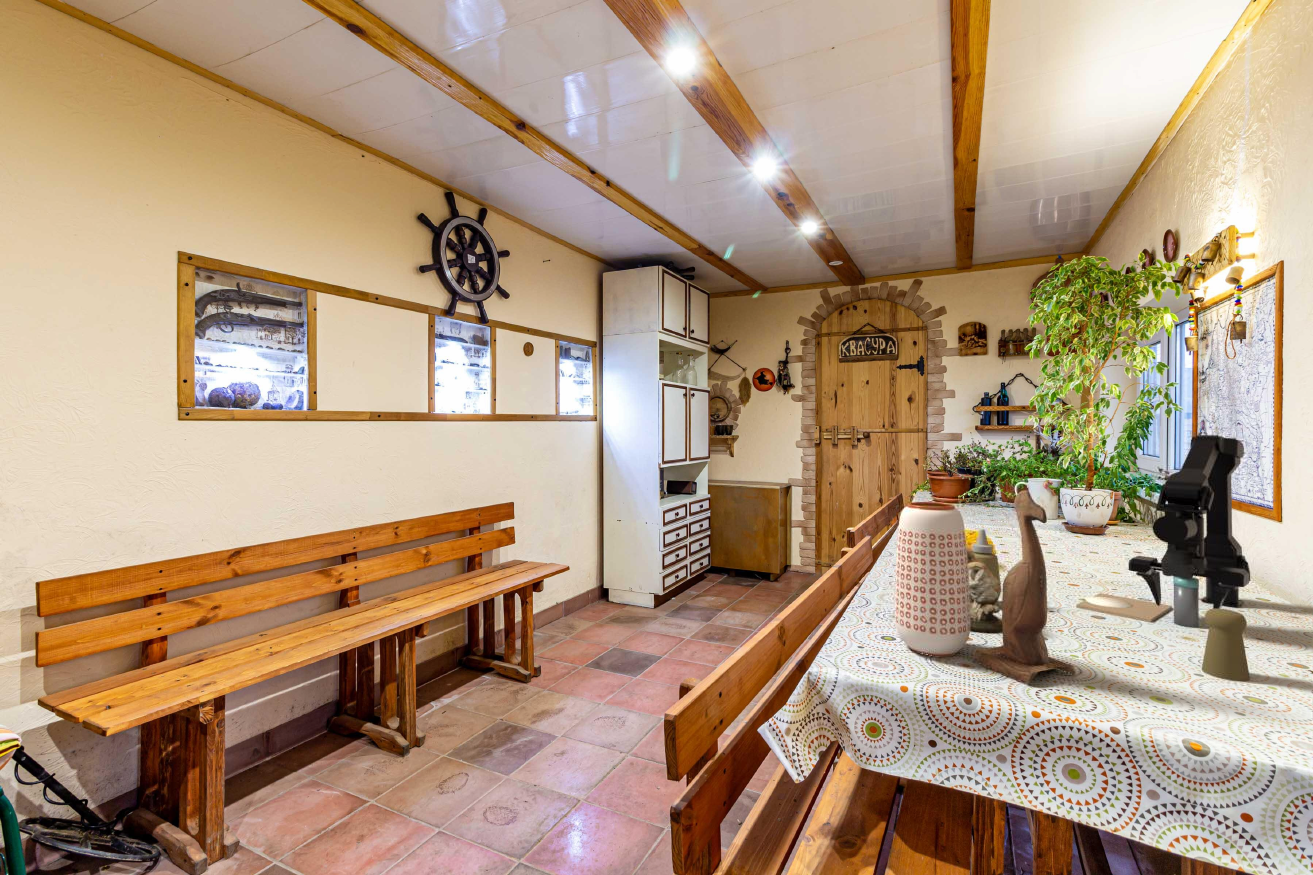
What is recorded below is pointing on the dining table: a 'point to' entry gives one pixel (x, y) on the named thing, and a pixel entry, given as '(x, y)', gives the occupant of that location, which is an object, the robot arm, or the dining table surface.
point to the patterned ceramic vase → (932, 579)
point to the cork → (1225, 645)
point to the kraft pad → (1124, 607)
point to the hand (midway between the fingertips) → (1186, 610)
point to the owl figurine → (982, 597)
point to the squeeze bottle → (986, 555)
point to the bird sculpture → (1024, 606)
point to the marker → (1186, 601)
